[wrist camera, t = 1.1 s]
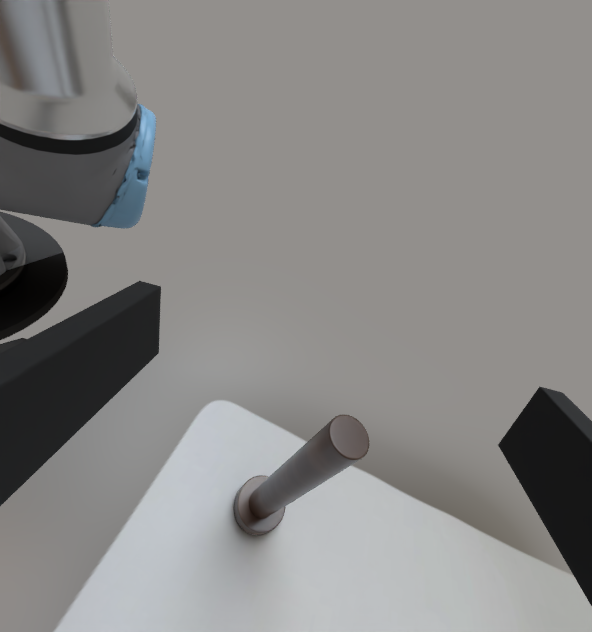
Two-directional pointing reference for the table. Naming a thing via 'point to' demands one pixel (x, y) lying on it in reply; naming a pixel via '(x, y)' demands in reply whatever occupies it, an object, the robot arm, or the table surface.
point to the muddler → (300, 474)
